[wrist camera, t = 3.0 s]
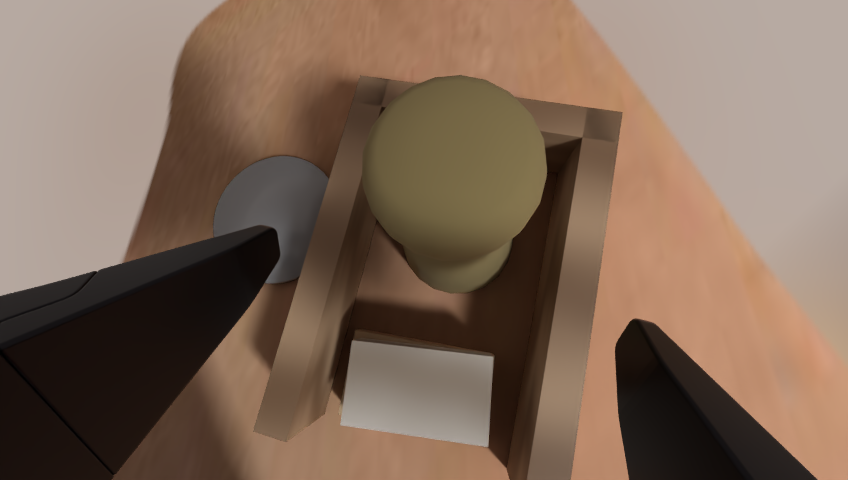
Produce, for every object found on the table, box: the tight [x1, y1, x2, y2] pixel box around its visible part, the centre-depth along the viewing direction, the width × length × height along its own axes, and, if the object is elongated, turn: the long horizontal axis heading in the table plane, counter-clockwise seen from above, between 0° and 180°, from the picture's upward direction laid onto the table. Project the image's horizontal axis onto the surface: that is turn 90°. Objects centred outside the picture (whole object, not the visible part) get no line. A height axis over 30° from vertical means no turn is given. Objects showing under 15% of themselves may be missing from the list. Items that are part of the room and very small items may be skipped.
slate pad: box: [213, 156, 329, 284], centre depth 20 cm, size 8×8×1 cm
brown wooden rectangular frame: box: [253, 75, 622, 480], centre depth 17 cm, size 17×12×4 cm
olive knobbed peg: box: [362, 75, 547, 293], centre depth 14 cm, size 6×6×11 cm
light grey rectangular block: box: [338, 329, 495, 447], centre depth 16 cm, size 4×7×3 cm, turn 80°
